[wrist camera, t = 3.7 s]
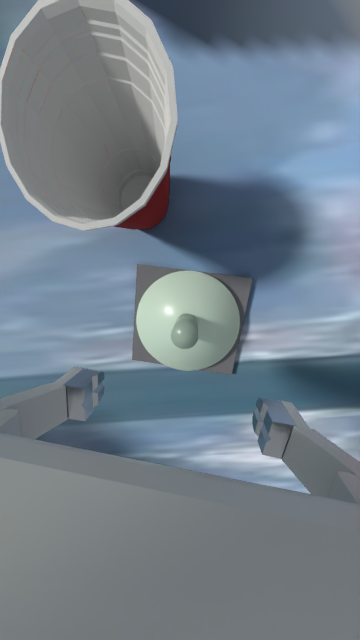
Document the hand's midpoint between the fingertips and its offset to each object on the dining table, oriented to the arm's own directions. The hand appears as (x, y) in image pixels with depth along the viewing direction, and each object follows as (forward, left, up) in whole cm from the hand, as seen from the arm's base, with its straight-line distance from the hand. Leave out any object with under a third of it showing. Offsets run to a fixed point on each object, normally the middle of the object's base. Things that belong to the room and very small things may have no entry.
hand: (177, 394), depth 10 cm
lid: (0, 0, -15) cm, 15 cm away
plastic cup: (+13, +7, -15) cm, 22 cm away
